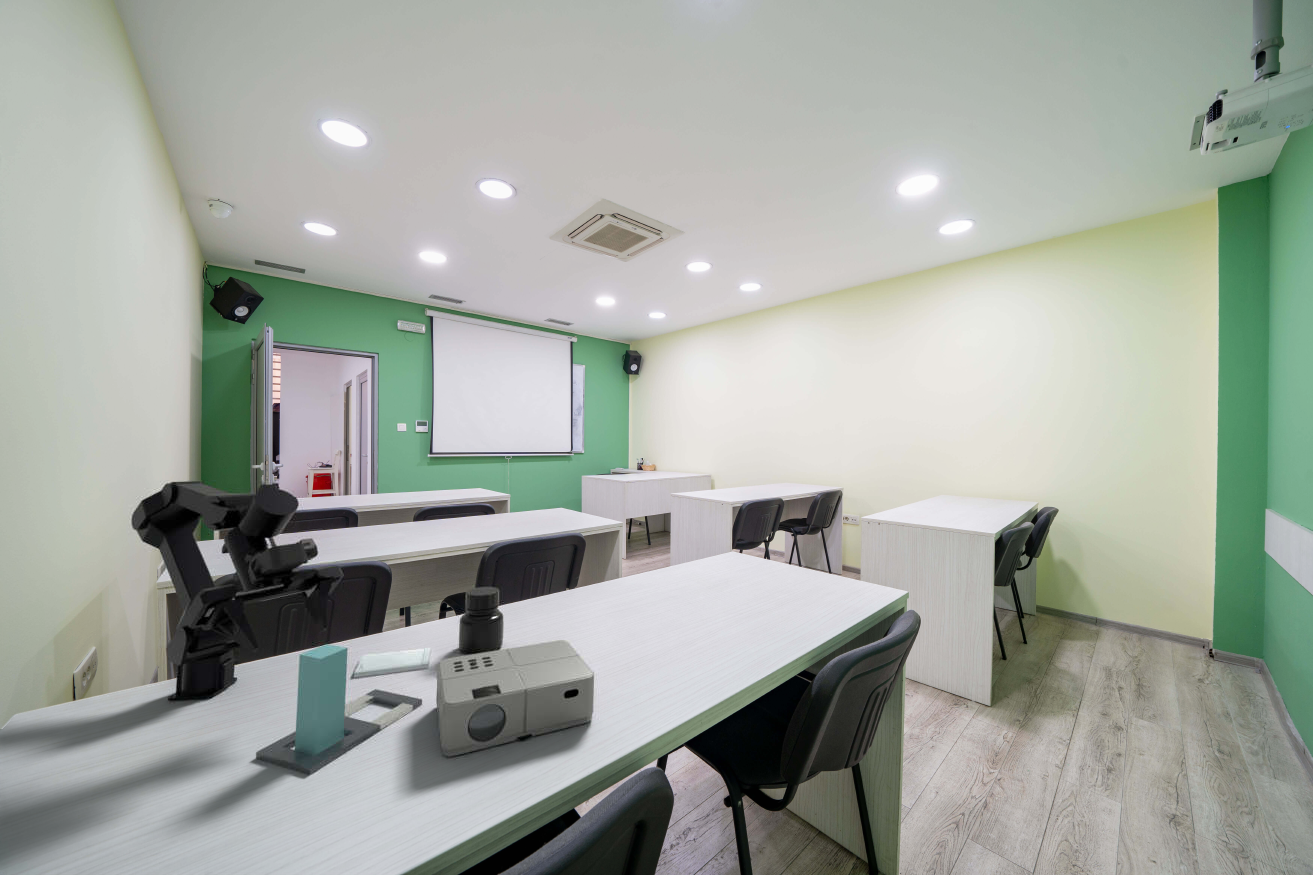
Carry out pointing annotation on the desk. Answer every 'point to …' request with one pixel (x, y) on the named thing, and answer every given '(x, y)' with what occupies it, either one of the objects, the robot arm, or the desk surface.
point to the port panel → (352, 727)
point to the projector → (511, 695)
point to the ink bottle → (481, 622)
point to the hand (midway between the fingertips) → (292, 639)
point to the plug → (321, 698)
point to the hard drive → (393, 662)
